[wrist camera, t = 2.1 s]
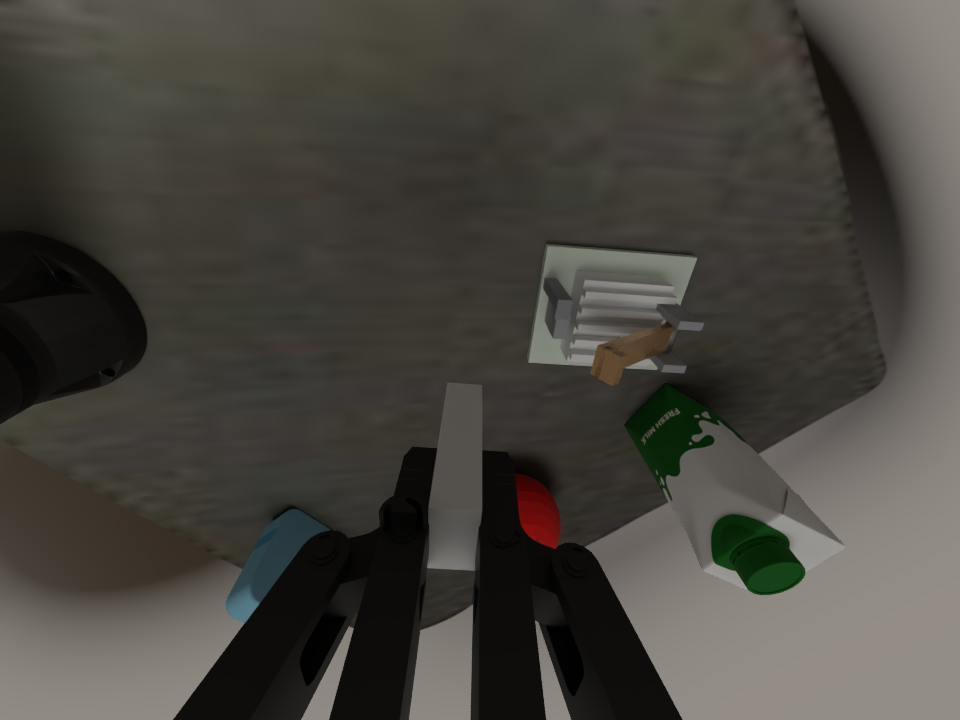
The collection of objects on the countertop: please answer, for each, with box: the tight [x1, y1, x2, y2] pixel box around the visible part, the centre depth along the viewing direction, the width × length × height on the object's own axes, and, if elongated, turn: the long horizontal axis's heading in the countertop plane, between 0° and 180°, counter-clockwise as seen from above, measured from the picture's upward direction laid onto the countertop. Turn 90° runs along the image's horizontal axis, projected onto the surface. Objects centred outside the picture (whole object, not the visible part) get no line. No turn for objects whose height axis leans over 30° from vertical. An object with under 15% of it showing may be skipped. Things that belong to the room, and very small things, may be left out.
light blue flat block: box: [226, 509, 331, 623], centre depth 47 cm, size 12×4×12 cm, turn 39°
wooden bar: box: [590, 320, 679, 386], centre depth 30 cm, size 11×3×2 cm
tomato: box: [515, 473, 560, 549], centre depth 45 cm, size 11×12×10 cm
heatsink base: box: [527, 244, 704, 373], centre depth 34 cm, size 14×12×8 cm
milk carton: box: [624, 384, 846, 596], centre depth 36 cm, size 9×9×20 cm
